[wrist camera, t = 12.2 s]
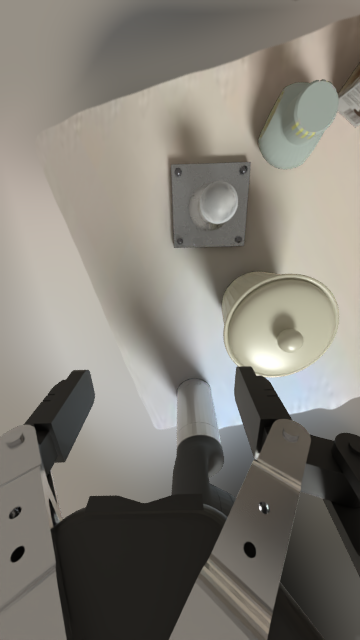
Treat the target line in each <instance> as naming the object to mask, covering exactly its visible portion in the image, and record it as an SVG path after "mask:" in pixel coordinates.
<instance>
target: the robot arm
mask: <svg viewBox="0 0 360 640" xmlns="http://www.w3.org/2000/svg"><path fill="white" fill-rule="evenodd" d="M234 395H235V401H236V404H237V407H238V410H239V413H240V416H241V419H242V422H243V425H244V429H245V432H246V435H247V438H248V441H249V444H250V447H251V450H252V453H253V456H254V459H255V460H254V461H253V463H252V465H251V467H250V469H249V471H248V473H247V476H246V478H245V480H244V482H243V485H242V487H241V489H240V491H239V493H238V496H237V498H234V497H233V496H232V495H231V494H229V493H228V492H225V491H224V490H222V489H220V488H218V487H216V486H214V485H212V484H210V483H209V477H212V476H213V475H215V474H217V473H218V472H219V471H220V470H221V469H222V467H223V464H224V456H223V450H222V445H221V440H220V435H219V430H218V425H217V420H216V414H215V409H214V404H213V399H212V394H211V389H210V387H209V385H208V384H207V383H206V382H205V381H203V380H200V379H190V380H187V381H185V382H183V383H182V384H181V385H180V386H179V388H178V391H177V457H176V461H175V465H174V470H173V483H172V495H171V496H168V497H165V498H162V499H159V500H156V501H152V502H149V503H140V502H137V501H134V500H130V499H127V498H123V497H120V496H90V497H89V501H88V503H87V506H86V507H85V508H82V509H80V510H78V511H76V512H74V513H72V514H71V515H69V516H67V517H66V518H65V519H63V517H62V515H61V510H60V507H59V502H58V497H57V493H56V488H55V484H54V479H53V475H52V471H51V468H52V466H53V465H54V463H56V462H65V461H66V459H67V457H68V455H69V453H70V451H71V449H72V446H73V444H74V442H75V440H76V438H77V436H78V434H79V432H80V430H81V428H82V426H83V424H84V422H85V420H86V418H87V416H88V414H89V412H90V410H91V407H92V405H93V403H94V398H95V393H94V388H93V383H92V379H91V375H90V371H89V370H74V371H72V372H71V374H70V375H69V376H68V378H67V379H66V380H62V381H61V382H59V383H58V384H57V385H55V386H54V387H53V388H52V389H51V391H50V392H49V393H48V396H46V397H45V398H44V400H43V402H41V403H40V405H39V406H38V407H37V409H36V410H35V411H34V412H33V414H32V415H31V416H30V417H29V419H28V420H27V421H26V422H25V424H24V425H21V426H17V427H15V428H13V429H11V430H9V431H7V432H6V433H4V434H3V435H2V436H1V437H0V640H325V639H324V638H323V636H322V635H321V634H320V633H319V632H318V630H317V629H316V627H315V626H314V625H313V624H312V622H311V621H310V620H309V618H308V617H307V616H306V615H305V613H304V612H303V611H302V609H301V608H300V607H299V606H298V605H297V603H296V602H295V601H294V599H293V598H292V597H291V595H290V594H289V593H288V592H287V590H286V589H285V588H284V586H283V585H282V584H281V583H280V578H281V574H282V569H283V565H284V560H285V556H286V552H287V547H288V542H289V539H290V534H291V530H292V525H293V521H294V517H295V512H296V507H297V503H298V499H299V495H300V491H301V492H304V493H307V494H310V495H313V496H316V497H319V498H322V499H323V501H324V503H325V505H326V507H327V509H328V511H329V513H330V515H331V517H332V520H333V522H334V524H335V526H336V528H337V530H338V532H339V534H340V537H341V538H342V541H343V543H344V545H345V547H346V549H347V551H348V553H349V555H350V557H351V560H352V562H353V564H354V566H355V568H356V570H357V572H358V574H359V576H360V437H359V436H357V435H354V434H350V433H341V434H339V435H337V436H336V438H335V441H332V440H328V439H324V438H320V437H316V436H313V435H310V434H309V433H308V431H307V430H306V429H305V428H304V427H303V426H302V425H301V424H299V423H297V422H295V421H293V420H292V419H291V417H290V415H289V414H288V412H287V410H286V409H285V407H284V405H283V403H282V402H281V400H280V398H279V397H278V395H277V393H276V391H274V388H273V386H272V385H271V383H270V382H269V381H268V380H267V379H266V378H265V377H263V376H262V375H261V376H256V374H255V372H254V370H253V368H252V367H251V366H240V367H237V368H236V376H235V387H234ZM256 459H257V460H256Z"/></svg>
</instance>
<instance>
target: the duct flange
mask: <svg viewBox="0 0 360 640" xmlns="http://www.w3.org/2000/svg"><path fill="white" fill-rule="evenodd" d="M250 164H251V162H238V163H207V164H176V165H171V173H172V200H173V228H174V248H185V247H219V246H244V238H245V226H246V214H247V201H248V189H249V177H250ZM216 181H225V182H227V183H229V184H231V185H232V186H233V187H234V189H235V190H236V193H237V196H238V206H237V209H236V212H235V214H234V215H233V216H232V217H231V218H230V219H229V220H228V221H226V222H224V223H220V224H214V223H208V222H205V221H203V220H202V219H201V218H200V216H199V214H198V209H197V208H198V203H199V200H200V198H201V195H202V193H203V191H204V190H205V188H206V187H207V186H208V185H210V184H211V183H213V182H216Z"/></svg>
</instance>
